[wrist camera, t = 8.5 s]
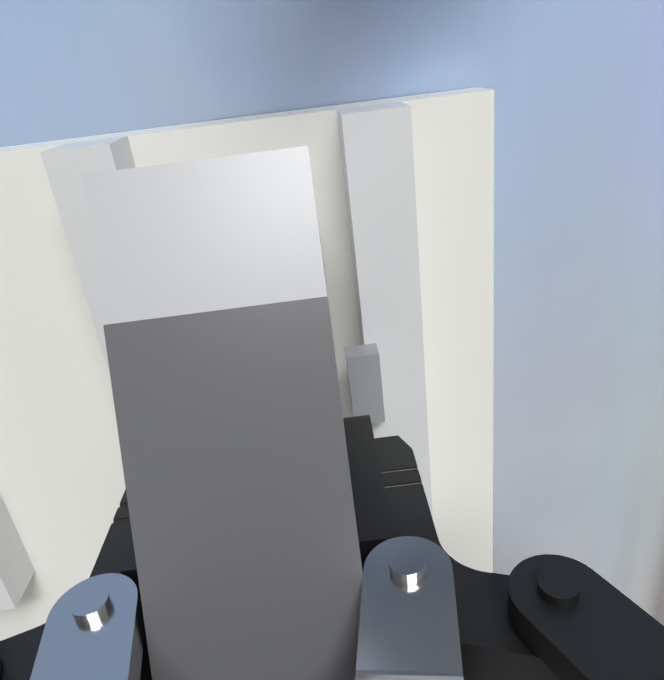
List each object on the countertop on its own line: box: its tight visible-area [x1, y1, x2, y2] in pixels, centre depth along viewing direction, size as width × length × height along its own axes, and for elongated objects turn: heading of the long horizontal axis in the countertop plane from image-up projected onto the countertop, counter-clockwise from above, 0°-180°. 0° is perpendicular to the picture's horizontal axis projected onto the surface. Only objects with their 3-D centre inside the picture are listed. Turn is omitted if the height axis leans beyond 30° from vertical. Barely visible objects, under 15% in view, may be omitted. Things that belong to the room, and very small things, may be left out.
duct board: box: [0, 87, 494, 641], centre depth 17 cm, size 19×16×4 cm
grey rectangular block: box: [83, 146, 363, 680], centre depth 11 cm, size 3×9×7 cm, turn 7°
